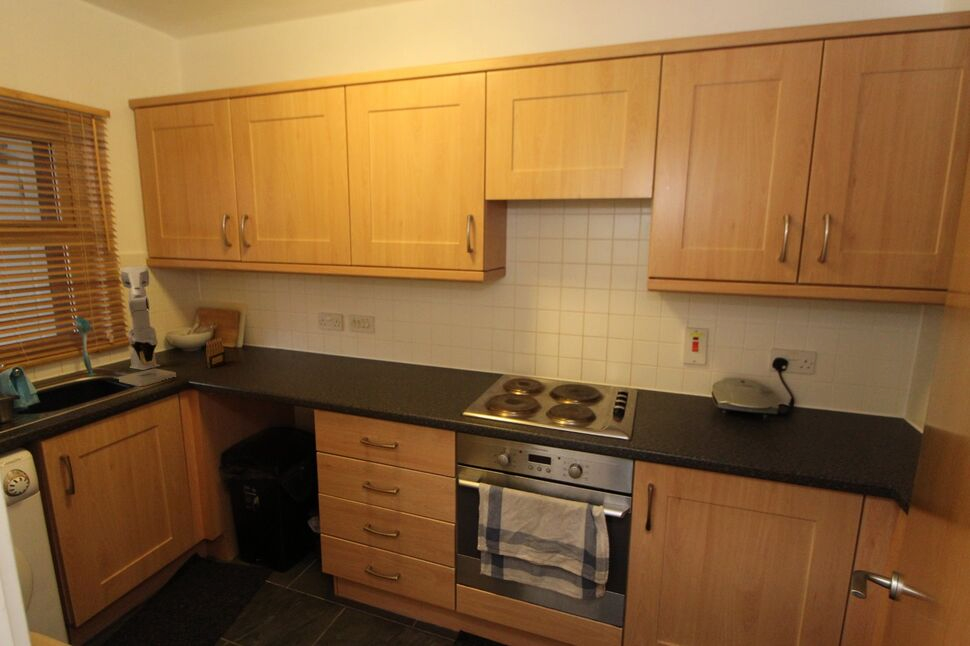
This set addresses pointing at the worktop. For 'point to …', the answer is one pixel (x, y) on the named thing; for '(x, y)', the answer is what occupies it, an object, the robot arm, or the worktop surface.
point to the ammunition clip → (215, 353)
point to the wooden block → (144, 360)
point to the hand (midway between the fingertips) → (145, 360)
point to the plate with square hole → (147, 377)
